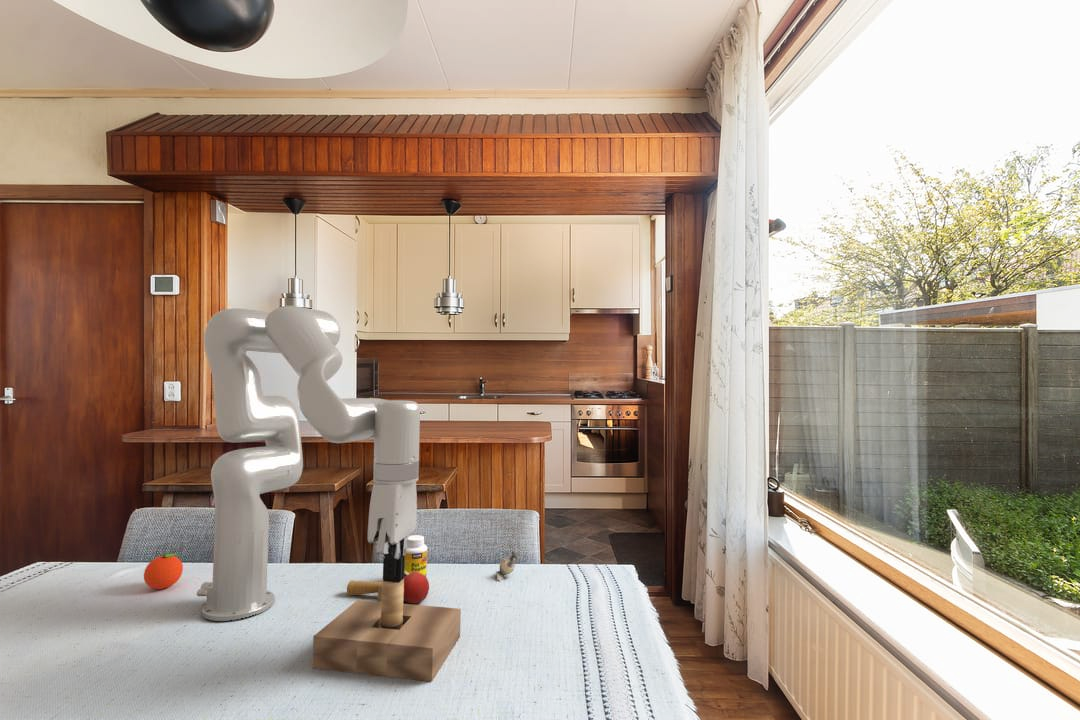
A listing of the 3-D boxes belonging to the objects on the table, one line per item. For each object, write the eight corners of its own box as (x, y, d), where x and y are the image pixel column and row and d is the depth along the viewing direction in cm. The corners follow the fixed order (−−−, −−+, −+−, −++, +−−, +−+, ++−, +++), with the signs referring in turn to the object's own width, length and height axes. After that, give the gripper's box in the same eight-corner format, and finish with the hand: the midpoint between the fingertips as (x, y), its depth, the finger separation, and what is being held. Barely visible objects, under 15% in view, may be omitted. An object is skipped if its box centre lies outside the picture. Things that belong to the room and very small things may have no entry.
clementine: (172, 578, 117) (174, 546, 117) (194, 582, 115) (195, 550, 115) (134, 591, 109) (136, 557, 110) (157, 596, 107) (159, 562, 107)
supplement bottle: (409, 589, 113) (410, 542, 113) (396, 582, 117) (398, 537, 117) (431, 583, 117) (432, 537, 117) (418, 576, 121) (419, 532, 121)
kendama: (338, 610, 105) (419, 607, 102) (339, 577, 107) (418, 573, 103) (359, 602, 113) (435, 598, 109) (360, 571, 114) (434, 567, 111)
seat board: (312, 668, 82) (313, 636, 82) (356, 626, 95) (357, 599, 96) (431, 681, 78) (432, 648, 79) (460, 637, 92) (460, 608, 93)
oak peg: (375, 656, 85) (377, 583, 86) (385, 644, 89) (387, 575, 90) (396, 658, 85) (398, 585, 85) (405, 647, 89) (408, 576, 89)
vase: (518, 572, 124) (519, 548, 124) (520, 583, 119) (521, 557, 119) (496, 572, 124) (497, 548, 123) (497, 583, 118) (498, 557, 118)
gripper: (394, 464, 96) (392, 563, 95) (353, 479, 81) (350, 596, 81) (432, 466, 95) (430, 566, 94) (398, 480, 80) (395, 600, 79)
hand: (393, 579), depth 87 cm, fingers closed
